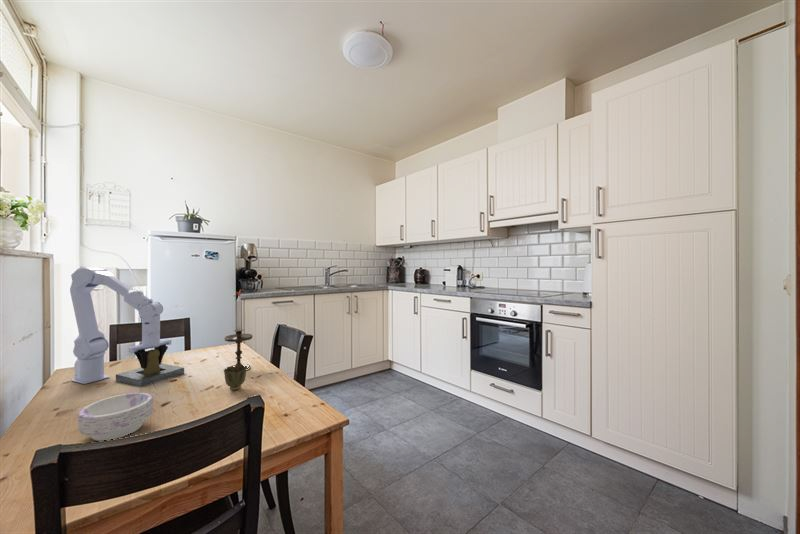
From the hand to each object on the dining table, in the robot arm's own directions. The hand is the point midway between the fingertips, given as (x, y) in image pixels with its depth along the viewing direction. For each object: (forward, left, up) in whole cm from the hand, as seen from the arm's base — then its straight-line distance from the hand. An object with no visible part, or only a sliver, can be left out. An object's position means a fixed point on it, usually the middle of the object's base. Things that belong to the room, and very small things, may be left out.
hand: (151, 366), depth 129 cm
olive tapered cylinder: (0, 0, -5) cm, 5 cm away
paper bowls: (+38, -30, -5) cm, 49 cm away
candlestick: (+24, +21, -5) cm, 32 cm away
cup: (+42, +4, -5) cm, 42 cm away
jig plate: (0, 0, -4) cm, 4 cm away
